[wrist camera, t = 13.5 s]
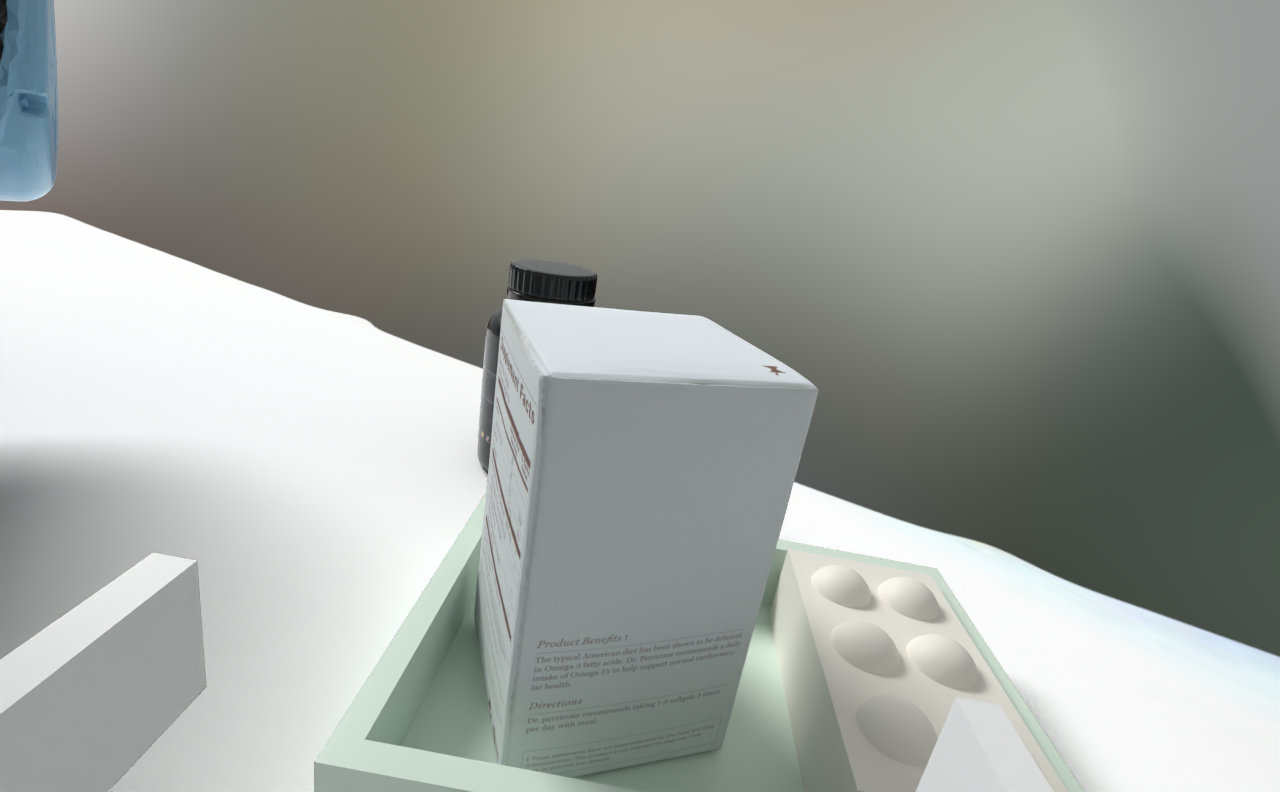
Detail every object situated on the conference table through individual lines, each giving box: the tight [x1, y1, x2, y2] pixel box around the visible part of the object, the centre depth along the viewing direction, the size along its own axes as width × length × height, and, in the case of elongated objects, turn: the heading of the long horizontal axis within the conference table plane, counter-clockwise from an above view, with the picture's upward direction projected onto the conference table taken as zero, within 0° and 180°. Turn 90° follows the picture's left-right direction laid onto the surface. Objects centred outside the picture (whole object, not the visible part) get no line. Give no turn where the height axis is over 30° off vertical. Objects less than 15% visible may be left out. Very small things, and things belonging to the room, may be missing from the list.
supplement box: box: [474, 299, 818, 778], centre depth 20 cm, size 7×7×13 cm
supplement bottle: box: [478, 260, 597, 471], centre depth 36 cm, size 7×7×12 cm
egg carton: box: [769, 549, 1068, 792], centre depth 21 cm, size 6×11×4 cm, turn 177°
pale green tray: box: [314, 494, 1084, 792], centre depth 22 cm, size 20×14×4 cm
